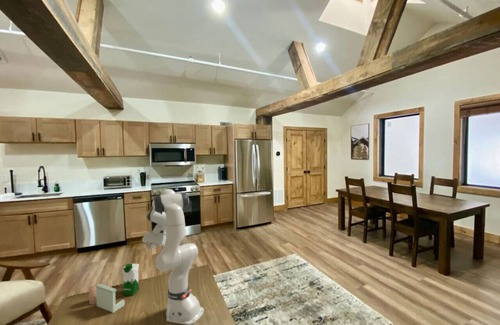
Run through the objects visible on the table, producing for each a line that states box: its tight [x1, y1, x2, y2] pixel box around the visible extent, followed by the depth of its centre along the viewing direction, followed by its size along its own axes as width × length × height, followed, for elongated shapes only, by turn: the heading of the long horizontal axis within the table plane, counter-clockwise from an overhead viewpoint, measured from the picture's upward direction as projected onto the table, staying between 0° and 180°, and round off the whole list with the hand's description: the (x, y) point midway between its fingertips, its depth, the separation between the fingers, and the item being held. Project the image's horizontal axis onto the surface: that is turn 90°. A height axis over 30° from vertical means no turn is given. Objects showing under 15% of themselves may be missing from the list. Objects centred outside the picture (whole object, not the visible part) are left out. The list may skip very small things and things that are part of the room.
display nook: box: [95, 283, 125, 314], centre depth 140 cm, size 15×8×13 cm, turn 67°
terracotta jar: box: [88, 284, 97, 305], centre depth 144 cm, size 6×6×9 cm
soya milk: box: [121, 262, 140, 296], centre depth 153 cm, size 9×9×20 cm
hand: (148, 249), depth 167 cm, fingers closed
